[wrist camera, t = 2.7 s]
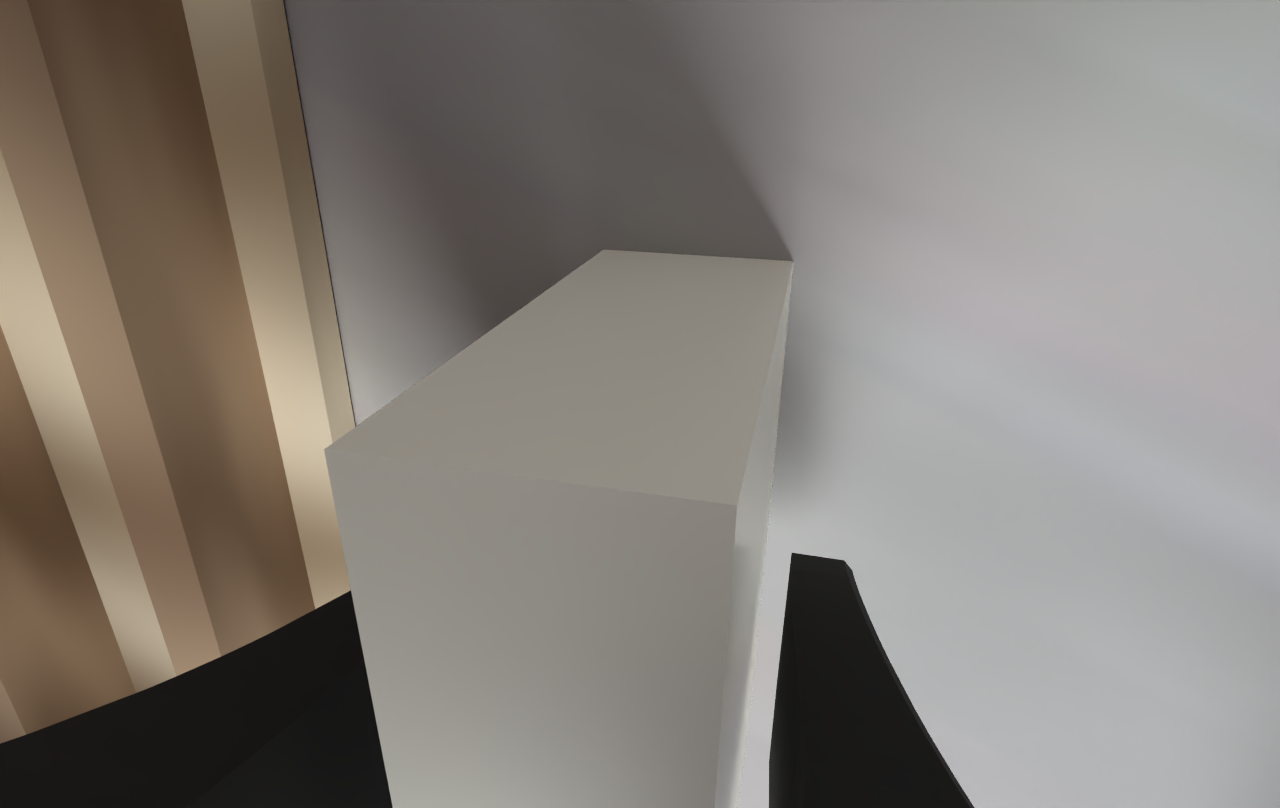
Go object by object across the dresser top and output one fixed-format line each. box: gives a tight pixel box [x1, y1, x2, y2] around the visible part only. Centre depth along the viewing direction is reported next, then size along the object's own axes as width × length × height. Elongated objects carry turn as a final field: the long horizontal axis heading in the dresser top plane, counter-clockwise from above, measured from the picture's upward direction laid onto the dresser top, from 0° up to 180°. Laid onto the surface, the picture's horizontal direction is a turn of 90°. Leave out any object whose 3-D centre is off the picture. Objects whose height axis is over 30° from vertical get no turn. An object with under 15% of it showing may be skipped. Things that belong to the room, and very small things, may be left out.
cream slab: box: [324, 250, 794, 808], centre depth 8 cm, size 8×2×6 cm, turn 0°
